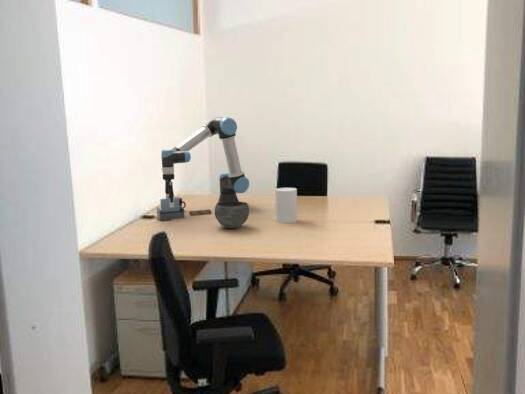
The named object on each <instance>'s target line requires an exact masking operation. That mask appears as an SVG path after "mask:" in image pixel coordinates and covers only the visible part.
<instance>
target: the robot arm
mask: <svg viewBox="0 0 525 394" xmlns="http://www.w3.org/2000/svg"><path fill="white" fill-rule="evenodd" d="M237 130H238V124H237V123H236V121H235V119H233V118H232V117H227V116H226V117H223V116H216V117H213V118H211V119H210V120H208V121H207V122H206V123H204V124H203V125H202V126H201V128H199V129H198V130H197V131H196V132H194V133H193V134H191V135H190V136H188V137H187V138H186V139H185V140H183V141H182V142H180V143H179V144H178V145H176V146H174V147H173V148H171V149H167V148H166V149H162V150H161V154H160V155H161V167H162V168H161V170H160V171H162V180H164V181H165V182H164V183H165V184H164V185H165V186H164V193H165V199H168V198H169V206H170V207H174V199H173V198H175V195H174V188H173V186H174V185H173V181H172V180H175V167H174V165H175V164H186V163H189V162H190V161H191V159H192V156H191V153H190V151H191V150H192V149H194V148H195V147H196V146H198V145H199V144H200V143H202V142H204V141H205V140H206V139H208V138H211V137H213V136H215V135H218V138H219V140H221V141H222V146H223V150H224V154H225V160H226V165H227V168H228V172H227V173H220V174H219V198H218V201H217V203H218V202H222V201H239V199H238V195H237V194H244V193H246V192H247V191H248V190H249V188H250V181H249V178H247V176H245V171H243V170H242V167H241V163H240V158H239V153H238V148H237V145H236V141H235V138H236V136H237V134H236V132H237ZM239 202H240V201H239Z"/></svg>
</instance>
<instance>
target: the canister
mask: <svg viewBox="0 0 525 394" xmlns="http://www.w3.org/2000/svg"><path fill="white" fill-rule="evenodd" d="M297 190H298V189H297V188H296V187H278V188H275V189H274V194H275V195H274V197H275V198H274V199H275V222H277V223H279V224H280V223H281V224H292V223H296V222H298V191H297Z"/></svg>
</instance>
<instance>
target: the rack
mask: <svg viewBox="0 0 525 394" xmlns="http://www.w3.org/2000/svg"><path fill="white" fill-rule="evenodd" d="M179 207H180V211H174V212H162V213H161V208H160V207H159V206H156V217H157V219H158V221H160V222H164V221H166V222H167V221H172V219H181V218H185V208H183V207H184V206H183V205H182V206H181V205H179Z"/></svg>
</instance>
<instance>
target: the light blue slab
mask: <svg viewBox="0 0 525 394" xmlns="http://www.w3.org/2000/svg"><path fill="white" fill-rule="evenodd" d="M173 199H174V207H170V206H169V198H168V199H166V198H160V200H159V201H160V202H159V203H160V210H161V213H162V212H174V211H180V207H179V198H175V197H173Z"/></svg>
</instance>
